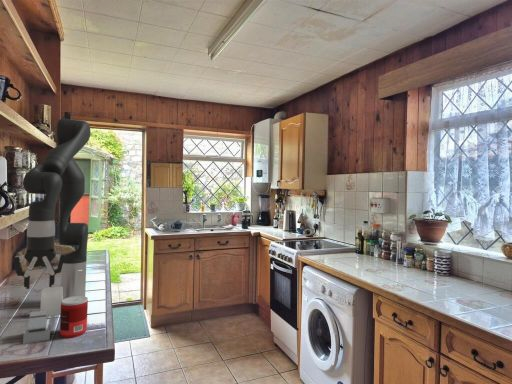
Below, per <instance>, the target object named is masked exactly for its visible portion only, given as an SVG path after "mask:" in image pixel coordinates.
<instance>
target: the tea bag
mask: <svg viewBox="0 0 512 384" xmlns="http://www.w3.org/2000/svg"><path fill="white" fill-rule="evenodd" d="M62 300H63V287H60V286H57V287H45V288H44V287H42V288H41V296H40V311H47V317H55V316H56V317H57V316H60V314H61V301H62Z"/></svg>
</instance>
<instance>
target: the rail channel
mask: <svg viewBox="0 0 512 384" xmlns="http://www.w3.org/2000/svg"><path fill="white" fill-rule="evenodd" d="M51 331H52V326H51V325H50V326H48V329H46V330H43V331H36V332H28V329H26V330H25V332H23V338H22V344H23V345H26V344H27V345H28V344H34V343H38V342H46V341H50V338H51Z"/></svg>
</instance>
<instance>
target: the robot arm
mask: <svg viewBox="0 0 512 384" xmlns="http://www.w3.org/2000/svg"><path fill="white" fill-rule="evenodd" d="M55 129H56V130H55V131H56V132H55V133H56V144H57V146H55V147H54V148H52V149H51V150H50V151H49V152H47V154H46V155H45V157H44V158H43V160H42V161H41V162H40V163H38V164H37V165H35V166H34V167H32V168H31V169H29V171H27V172H26V174H25V175H24V176H23V179H22V187H23V189H24V191H25V192H27V193H29V194H33V195H45V196H44V198H43V199H42V200H38V201H37V200H36V201H32V202H30V203H29V206H28V223H27V229H26V251H25V254H22V255H16V256H14V258H13V261H14V267H15V272H16V275H17V277H19V276H20V277H23V287H24V288H25V289H26V290H29V289H30V287H31V275H30V274H31V272H32V270H33V268H38V267H43V268H44V267H46V268H47V270H48V272H49V277H48V278H49V283H48V285H49V286H48V288H53V285H55V280H56V277H55V276H56V274H60V284H59V287H63V299H65V298H69V297H74V296H84V297H86V284H87V283H86V282H87V280H86V279H87V253H88V252H87V251H88V240H89V239H88V238H89V225H88V224H87V223H86V222H69V219H70V215H71V213H72V211H73V210H74V209H75V207H76V206H77V204H78V203H79V202H80V201H81V199H83V196H84V195H85V188H86V187H85V185H86V183H85V182H86V180H85V178H86V177H85V175H84V172H83V170H82V169H81V167H80V166H79V165H78V163H77V161H76V160H75V159H74V157H75V156H76V155H77V154H78V153H79V152H80V151H81V150H82V149H83V148H84V147H85V146H86V145H87V143H88V142H89V140H90V139H91V133H92V131H91V126H90V124H89V122H88V121H85V120H82V119H74V118H73V119H71V118H59V119H58V120H57V123H56V127H55ZM58 201H59V202H58ZM57 202H58V205H59V208H58V213H59V214H58V227H57V232H58V233H57V239H58V244H59V245H60V246H78V247H77V248H76V249H74V250H73V251H69V252H67V253H62V252H61V253H56V251H55V245H56V244H55V243H56V241H55V240H56V221H55V219H56V218H55V213H56V206H57ZM55 258H56V260H57V261H58V265H57V268H56V269H55V268H54V266H53V264H52V261H53V260H54V259H55ZM24 260H26V262H28V264H29V265H28V267H27V268H26V271H25V270H23V266H22V263H23V262H24Z"/></svg>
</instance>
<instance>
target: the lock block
mask: <svg viewBox="0 0 512 384" xmlns="http://www.w3.org/2000/svg"><path fill="white" fill-rule="evenodd" d="M47 319H48V316H47V311H31V312H30V314H29V316H28V332H36V331H43V330H47V325H48V324H47V321H48V320H47Z"/></svg>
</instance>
